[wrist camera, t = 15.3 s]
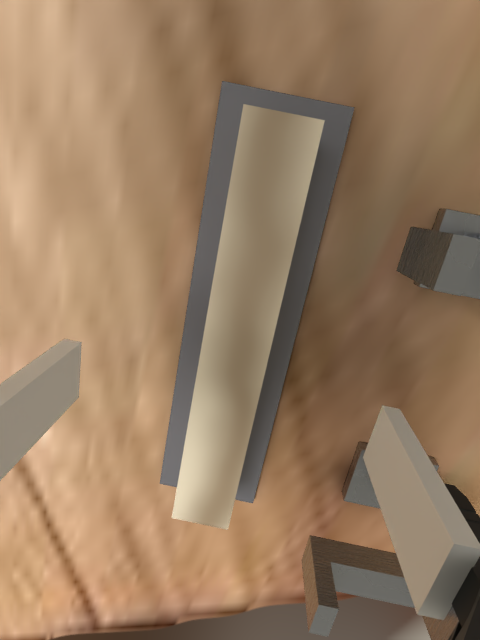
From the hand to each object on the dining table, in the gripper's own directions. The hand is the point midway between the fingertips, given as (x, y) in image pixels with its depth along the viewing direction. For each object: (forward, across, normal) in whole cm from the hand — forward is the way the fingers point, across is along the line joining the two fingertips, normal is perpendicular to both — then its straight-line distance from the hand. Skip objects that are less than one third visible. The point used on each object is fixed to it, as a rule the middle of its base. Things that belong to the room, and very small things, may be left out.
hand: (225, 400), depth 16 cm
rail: (+11, 0, -1) cm, 11 cm away
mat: (+12, 0, -1) cm, 12 cm away
